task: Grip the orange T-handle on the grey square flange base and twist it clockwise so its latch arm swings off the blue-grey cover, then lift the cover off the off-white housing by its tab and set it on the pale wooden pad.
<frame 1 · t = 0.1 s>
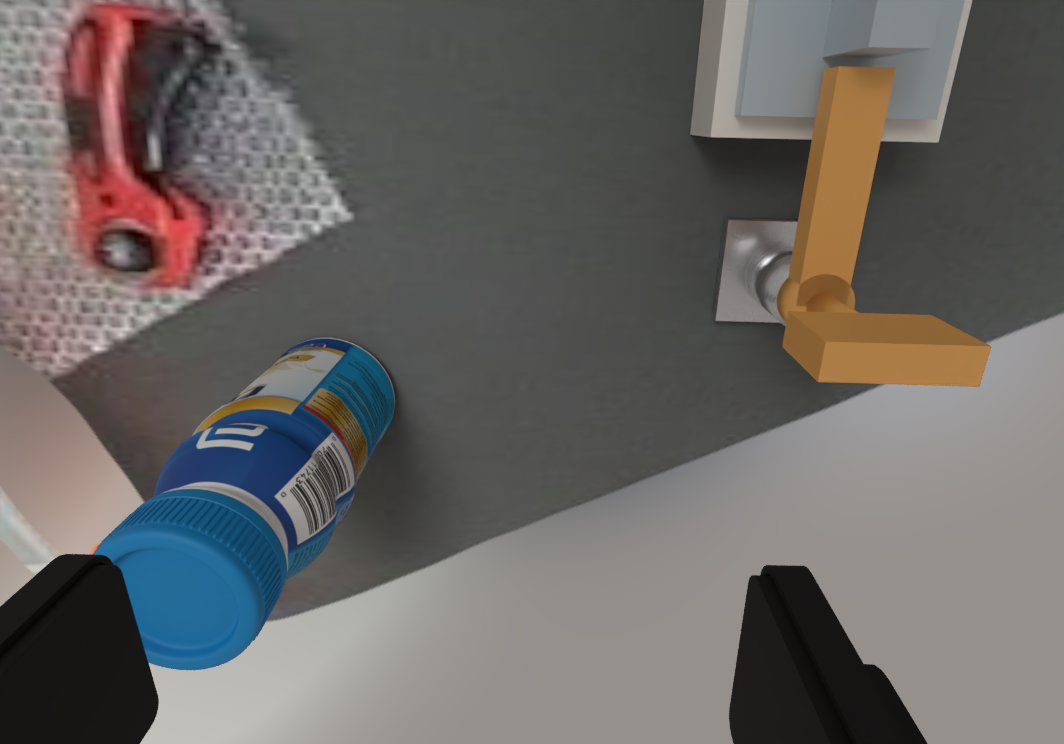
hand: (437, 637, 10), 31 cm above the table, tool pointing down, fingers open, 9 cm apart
housing: (806, 26, 34), on the table
beverage bottle: (336, 391, 43), on the table
latch: (870, 223, 27), point 11 cm above the table, hinge at 0.0°
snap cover: (846, 11, 29), point 5 cm above the table, touching housing
grey square flange base: (767, 269, 39), on the table
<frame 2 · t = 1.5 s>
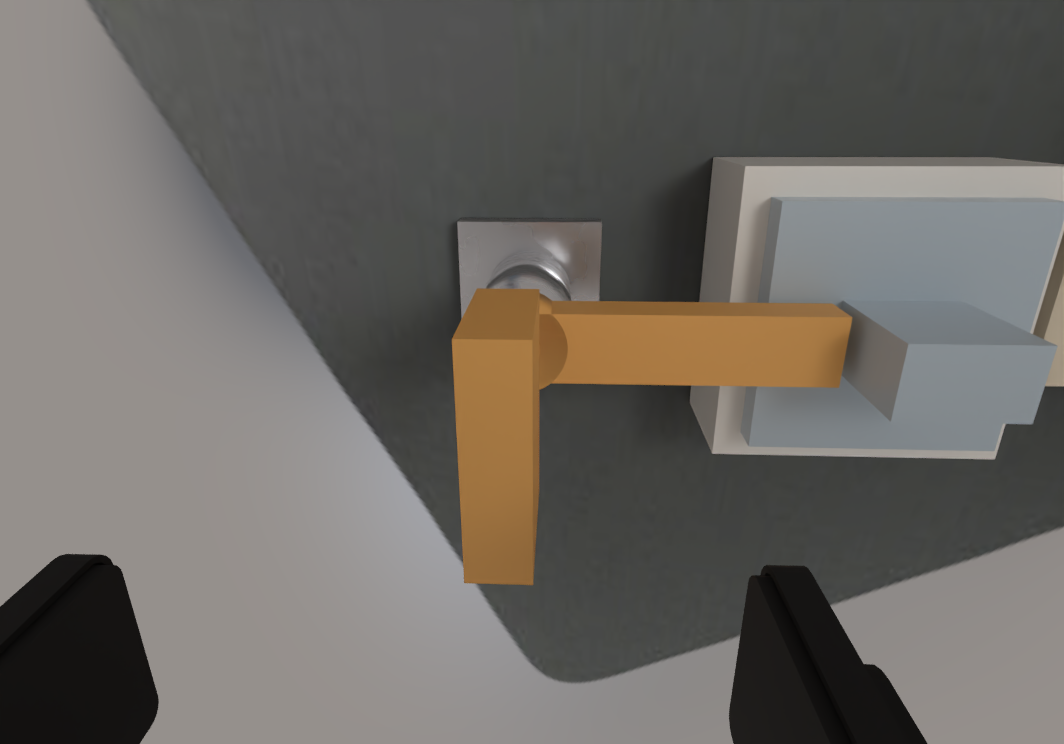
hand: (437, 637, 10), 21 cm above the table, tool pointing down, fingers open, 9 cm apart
housing: (827, 289, 28), on the table
latch: (670, 388, 18), point 11 cm above the table, hinge at 0.0°
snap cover: (879, 324, 23), point 5 cm above the table, touching housing
grey square flange base: (530, 286, 29), on the table
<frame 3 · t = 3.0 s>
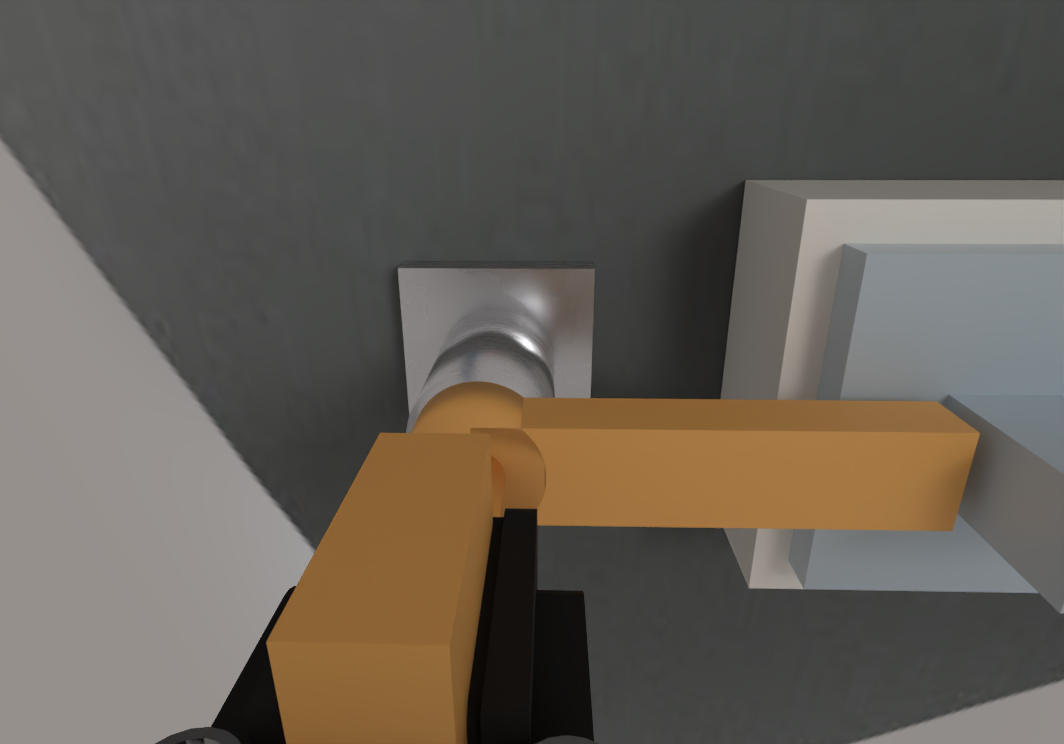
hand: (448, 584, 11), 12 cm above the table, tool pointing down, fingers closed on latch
housing: (893, 353, 21), on the table
latch: (713, 575, 11), point 11 cm above the table, hinge at 0.0°, touching gripper
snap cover: (990, 419, 17), point 5 cm above the table, touching housing
grey square flange base: (500, 350, 22), on the table
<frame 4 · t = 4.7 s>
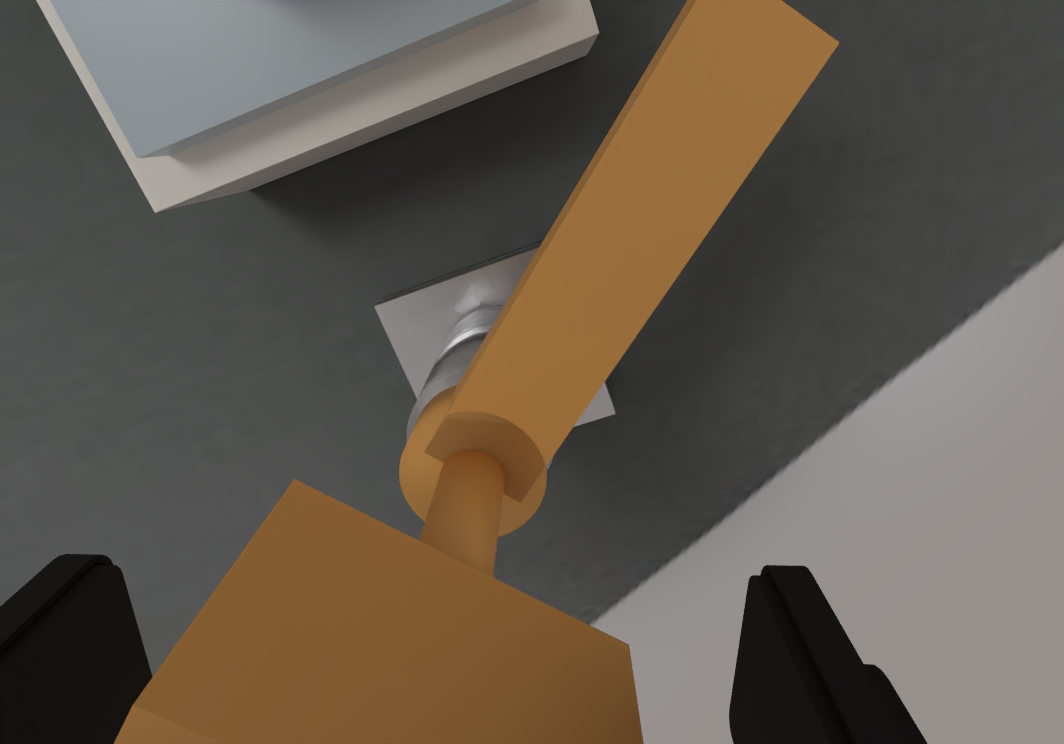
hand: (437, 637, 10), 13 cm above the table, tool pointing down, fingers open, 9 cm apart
latch: (592, 364, 10), point 11 cm above the table, hinge at -50.6°
grey square flange base: (500, 351, 22), on the table
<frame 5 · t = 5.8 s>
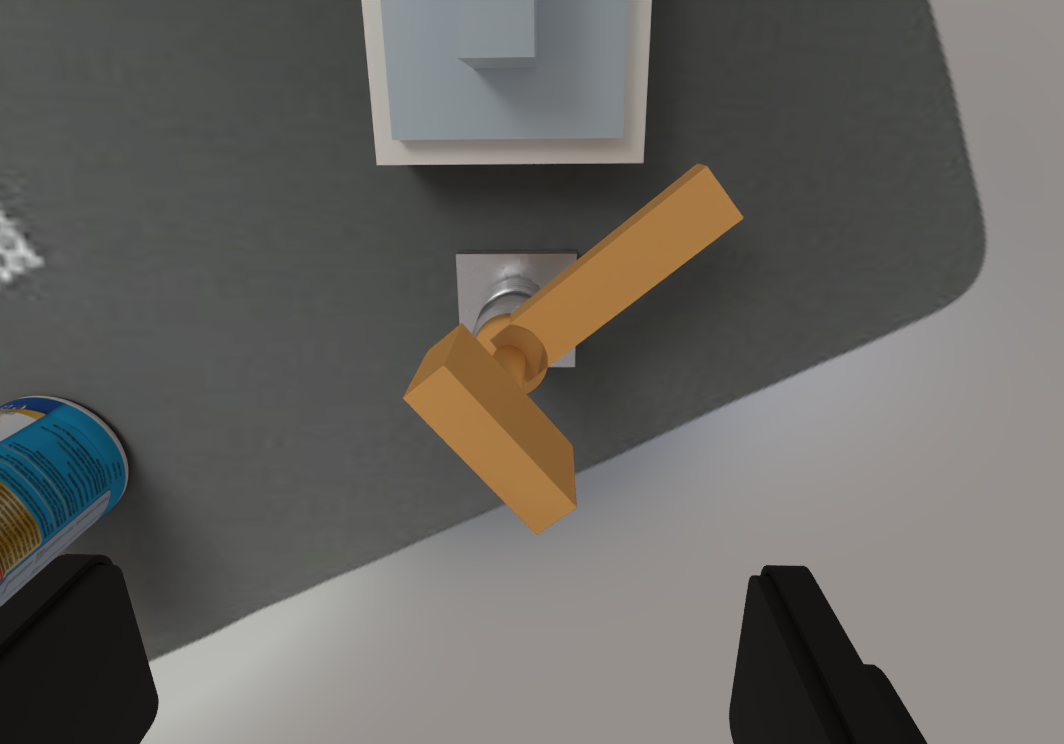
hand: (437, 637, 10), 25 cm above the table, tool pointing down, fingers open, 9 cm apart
housing: (513, 29, 29), on the table
beverage bottle: (66, 453, 38), on the table
latch: (600, 317, 22), point 11 cm above the table, hinge at -50.7°
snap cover: (506, 12, 24), point 5 cm above the table, touching housing
grey square flange base: (518, 307, 34), on the table
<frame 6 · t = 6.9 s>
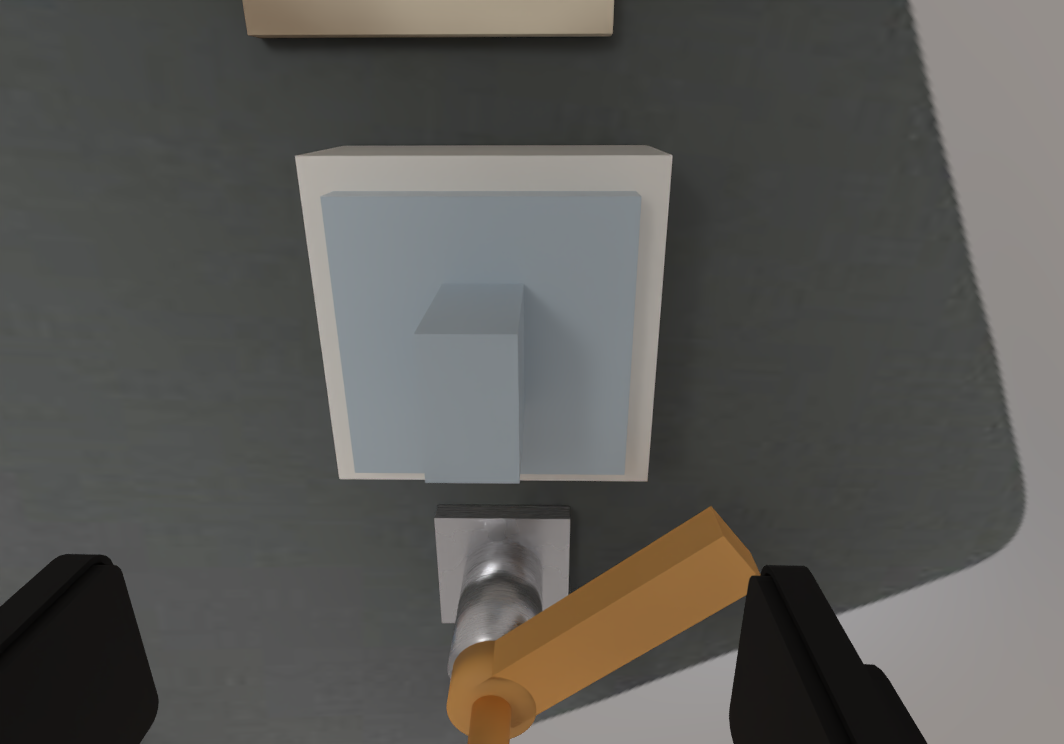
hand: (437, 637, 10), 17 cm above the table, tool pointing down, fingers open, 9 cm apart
housing: (498, 292, 25), on the table
latch: (598, 733, 19), point 11 cm above the table, hinge at -50.7°
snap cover: (488, 334, 21), point 5 cm above the table, touching housing
grey square flange base: (504, 558, 30), on the table
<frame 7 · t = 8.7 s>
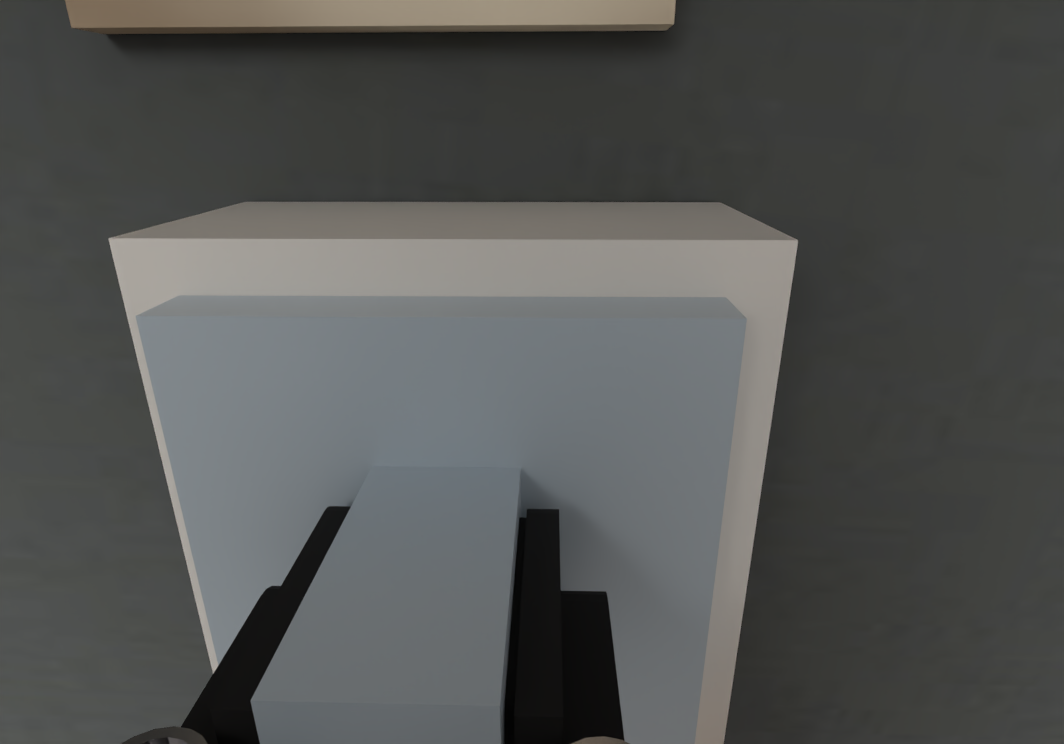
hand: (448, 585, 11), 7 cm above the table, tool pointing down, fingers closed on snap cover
housing: (487, 417, 17), on the table
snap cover: (461, 527, 12), point 5 cm above the table, touching gripper
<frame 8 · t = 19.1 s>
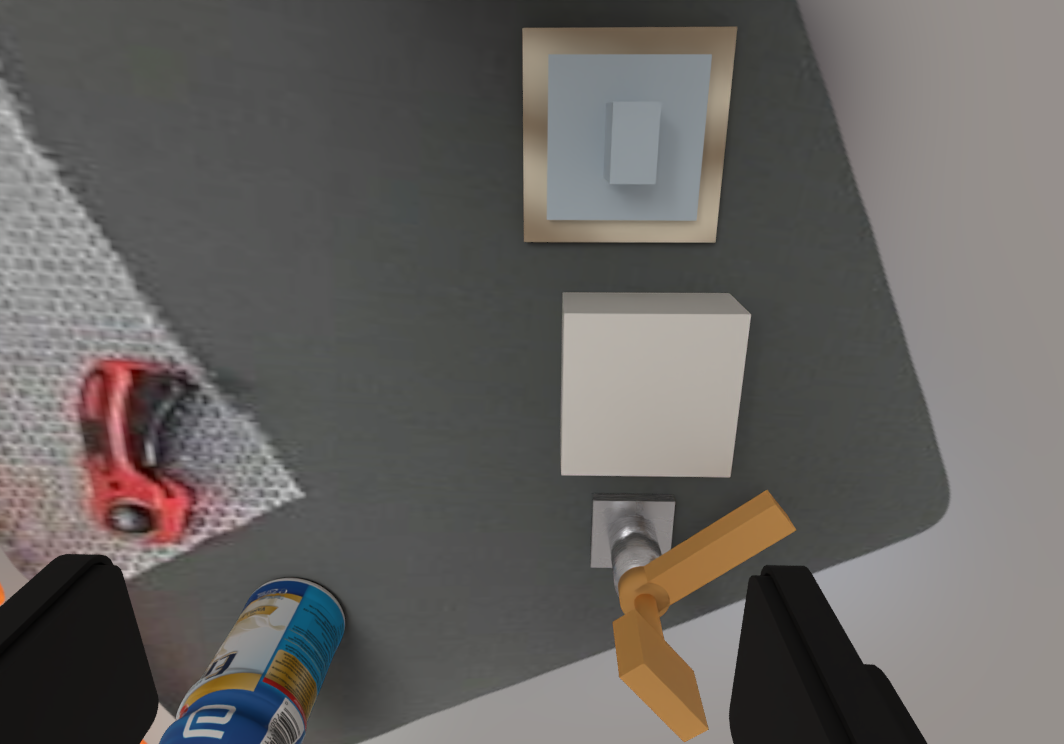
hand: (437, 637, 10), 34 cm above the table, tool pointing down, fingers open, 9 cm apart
housing: (640, 369, 45), on the table
beverage bottle: (299, 612, 54), on the table
pad: (622, 140, 39), on the table
latch: (714, 601, 38), point 11 cm above the table, hinge at -50.7°
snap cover: (623, 140, 38), point 1 cm above the table, touching pad
grey square flange base: (630, 527, 49), on the table
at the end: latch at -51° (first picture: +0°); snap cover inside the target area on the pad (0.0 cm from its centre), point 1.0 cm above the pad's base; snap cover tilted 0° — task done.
